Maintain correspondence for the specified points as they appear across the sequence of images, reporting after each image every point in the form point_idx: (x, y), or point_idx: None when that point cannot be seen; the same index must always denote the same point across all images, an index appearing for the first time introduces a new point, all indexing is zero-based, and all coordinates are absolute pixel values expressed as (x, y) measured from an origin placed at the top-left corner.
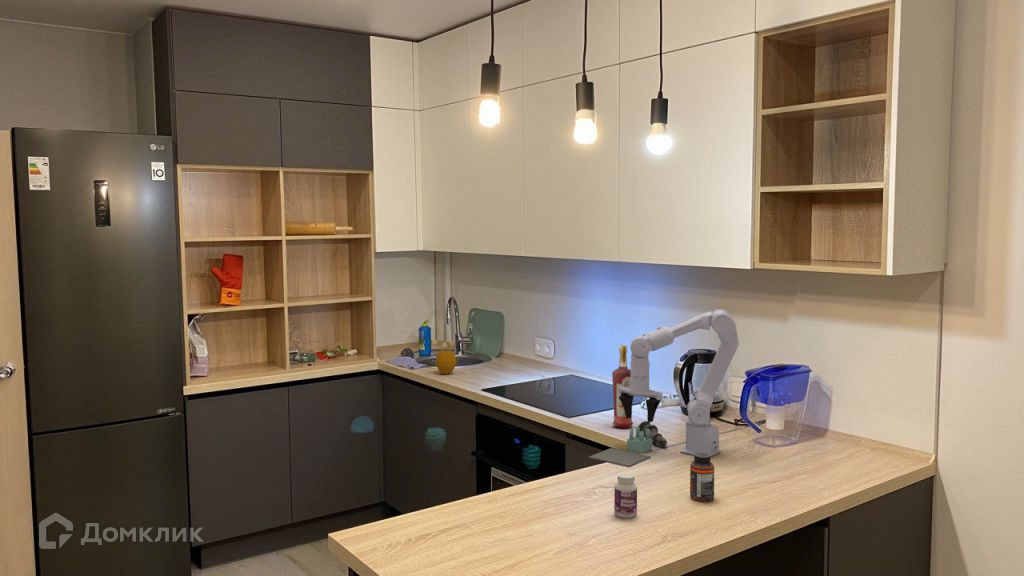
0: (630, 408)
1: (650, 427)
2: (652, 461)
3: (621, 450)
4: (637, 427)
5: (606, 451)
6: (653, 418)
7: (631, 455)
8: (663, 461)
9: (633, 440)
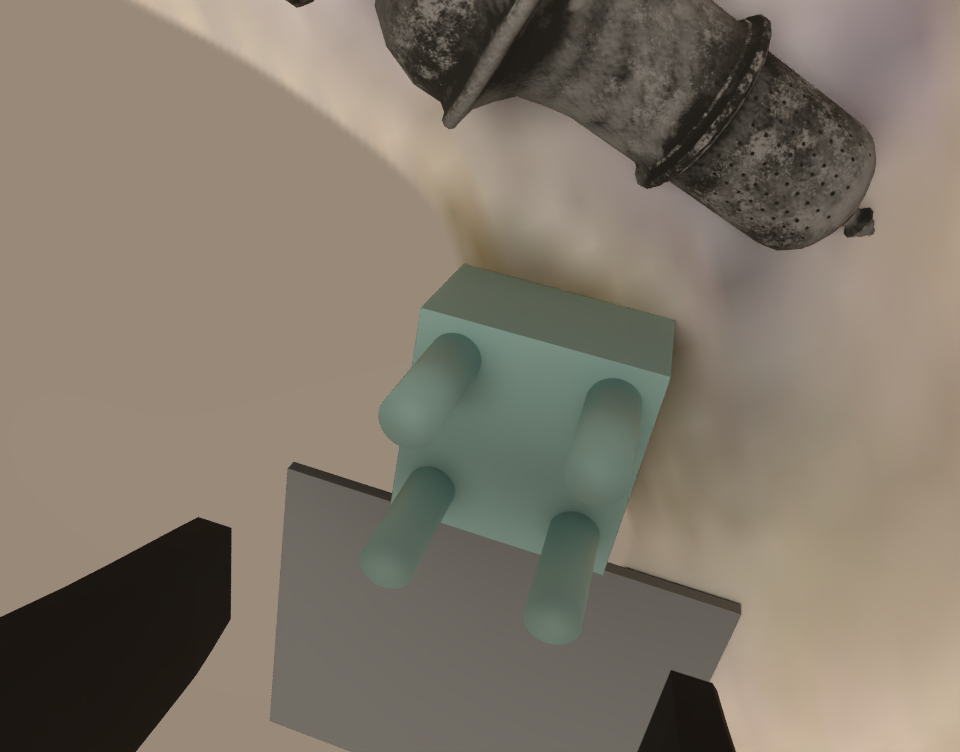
0: (96, 676)
1: (526, 37)
2: (783, 696)
3: None
4: (406, 423)
5: (306, 577)
6: (725, 732)
7: None
8: (898, 678)
9: (471, 522)
